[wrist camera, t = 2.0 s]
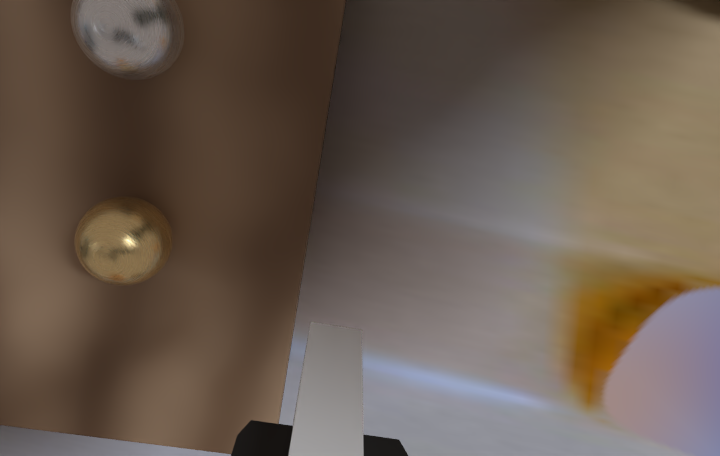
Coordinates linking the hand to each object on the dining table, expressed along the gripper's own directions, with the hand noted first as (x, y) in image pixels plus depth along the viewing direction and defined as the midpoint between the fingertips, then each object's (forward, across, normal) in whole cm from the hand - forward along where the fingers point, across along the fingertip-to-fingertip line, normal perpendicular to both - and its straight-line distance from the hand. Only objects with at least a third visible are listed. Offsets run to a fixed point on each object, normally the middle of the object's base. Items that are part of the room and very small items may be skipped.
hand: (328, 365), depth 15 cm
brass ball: (+6, -8, 0) cm, 10 cm away
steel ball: (+6, -8, +8) cm, 13 cm away
